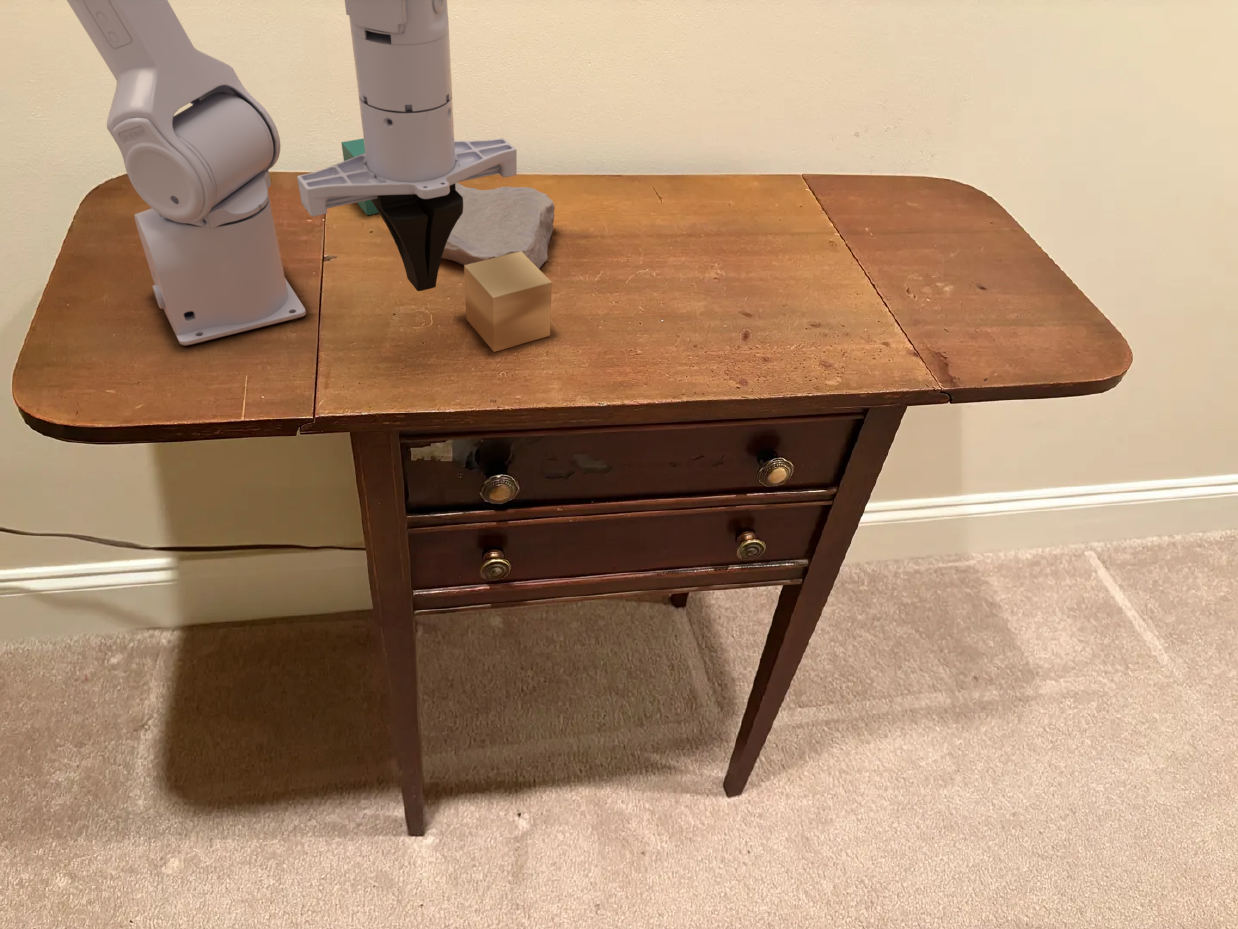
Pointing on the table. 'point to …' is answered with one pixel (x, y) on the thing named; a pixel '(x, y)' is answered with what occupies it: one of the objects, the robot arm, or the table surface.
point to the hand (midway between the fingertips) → (421, 282)
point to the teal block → (351, 151)
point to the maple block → (507, 300)
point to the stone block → (501, 225)
